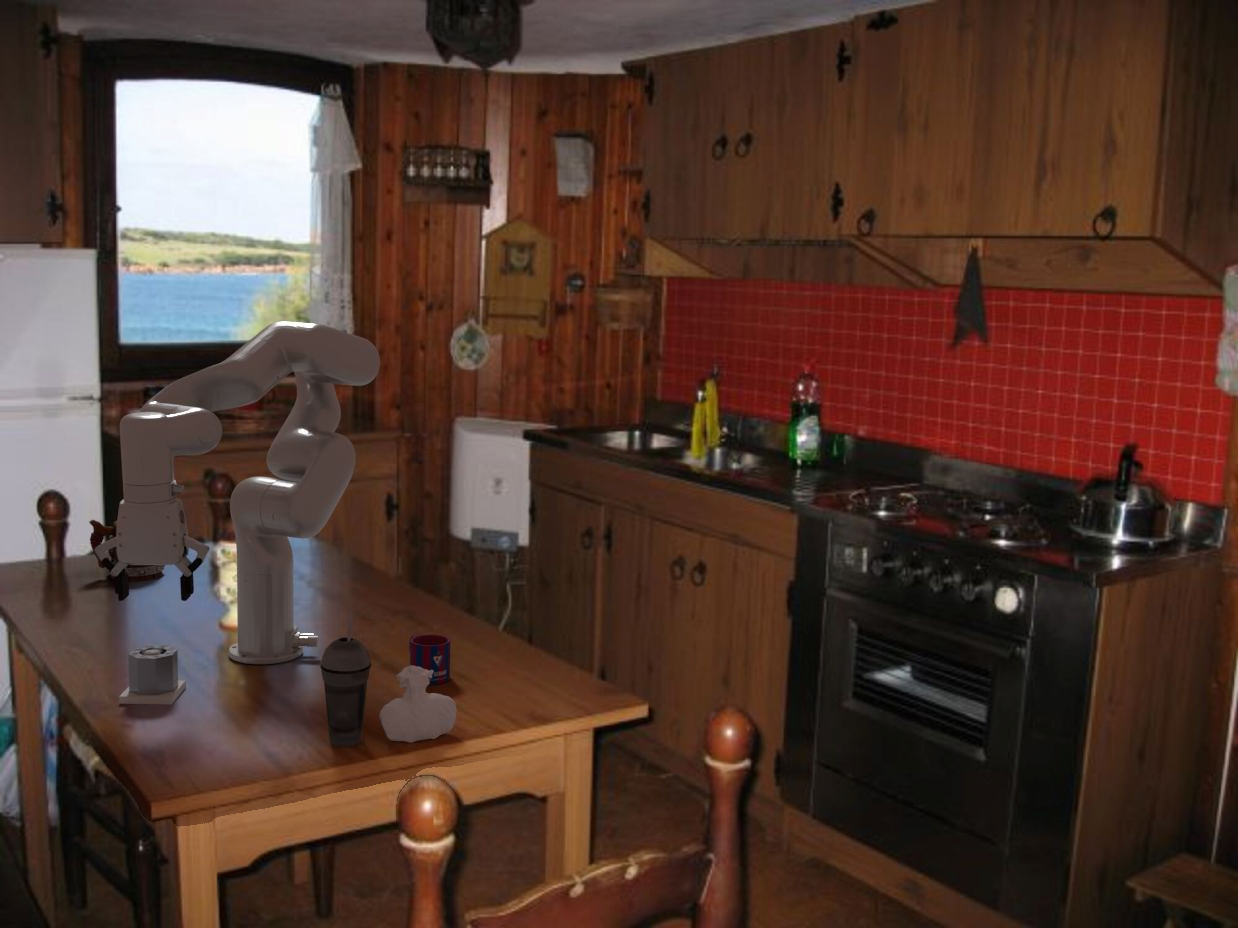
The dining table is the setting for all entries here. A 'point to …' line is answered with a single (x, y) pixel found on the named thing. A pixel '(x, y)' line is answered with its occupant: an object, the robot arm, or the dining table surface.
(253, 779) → the dining table surface
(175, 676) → the ring
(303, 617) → the dining table surface
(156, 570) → the mug
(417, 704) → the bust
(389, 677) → the dining table surface
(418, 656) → the cup
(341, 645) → the beverage cup
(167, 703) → the shaft block
